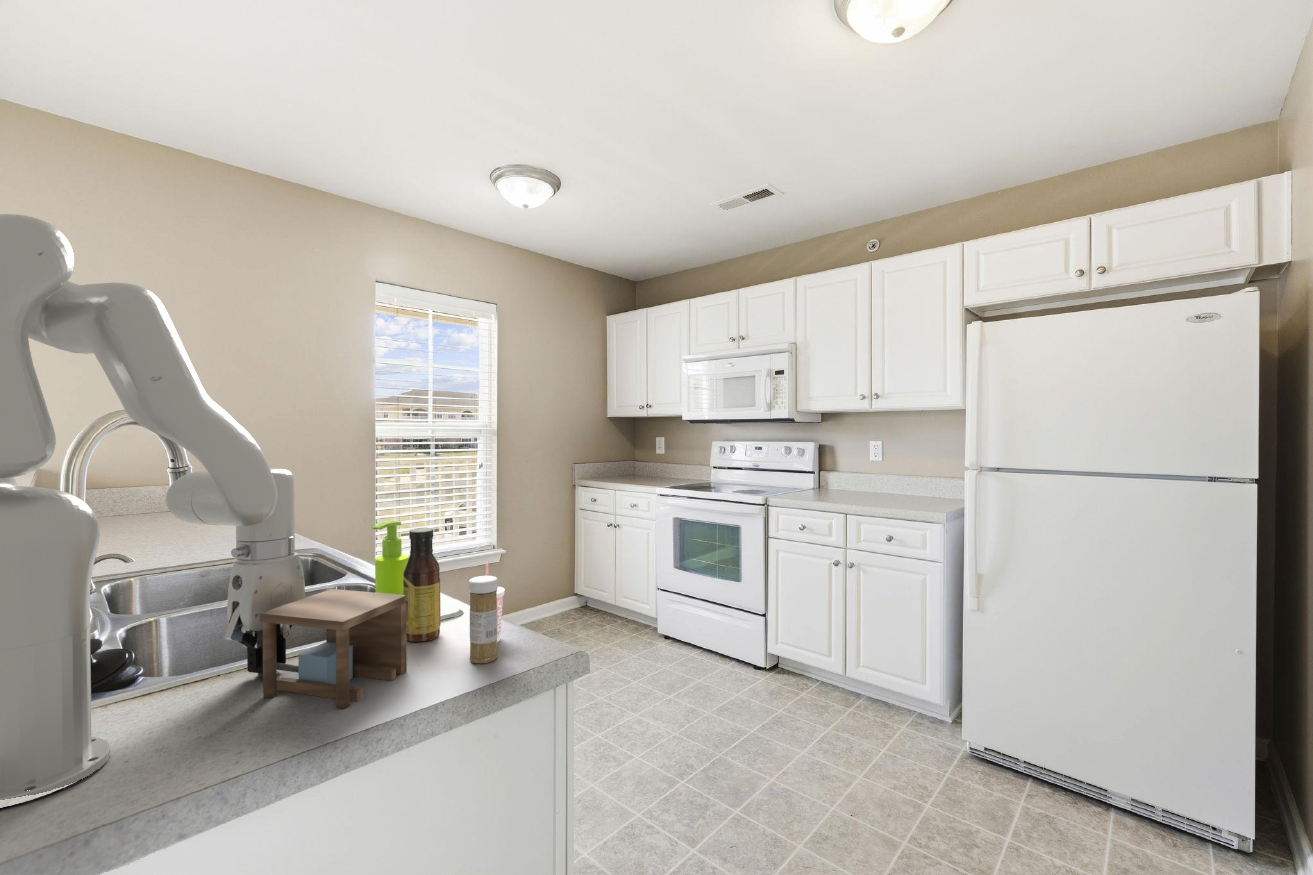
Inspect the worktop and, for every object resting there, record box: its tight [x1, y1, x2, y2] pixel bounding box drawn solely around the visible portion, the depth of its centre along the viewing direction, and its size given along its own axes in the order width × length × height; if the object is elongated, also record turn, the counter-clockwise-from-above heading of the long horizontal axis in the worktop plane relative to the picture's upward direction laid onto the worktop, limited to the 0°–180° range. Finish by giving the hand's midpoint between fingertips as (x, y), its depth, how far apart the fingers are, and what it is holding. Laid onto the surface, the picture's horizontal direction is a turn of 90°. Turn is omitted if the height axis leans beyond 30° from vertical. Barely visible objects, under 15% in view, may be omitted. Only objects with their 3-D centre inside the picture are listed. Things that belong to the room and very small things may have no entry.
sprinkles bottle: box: [468, 575, 499, 664], centre depth 97 cm, size 5×5×14 cm
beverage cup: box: [468, 562, 505, 643], centre depth 106 cm, size 6×6×14 cm
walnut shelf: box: [260, 588, 408, 710], centre depth 88 cm, size 13×14×12 cm
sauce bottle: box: [403, 527, 442, 643], centre depth 107 cm, size 7×6×20 cm
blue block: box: [257, 641, 354, 684], centre depth 90 cm, size 5×15×6 cm, turn 76°
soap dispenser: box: [371, 520, 409, 595], centre depth 114 cm, size 6×7×20 cm
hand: (267, 666), depth 91 cm, fingers open, 2 cm apart
